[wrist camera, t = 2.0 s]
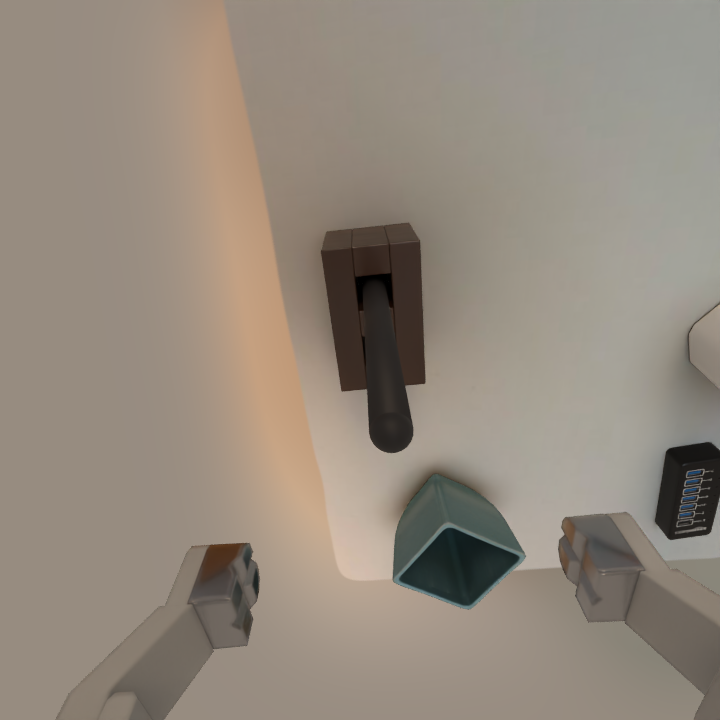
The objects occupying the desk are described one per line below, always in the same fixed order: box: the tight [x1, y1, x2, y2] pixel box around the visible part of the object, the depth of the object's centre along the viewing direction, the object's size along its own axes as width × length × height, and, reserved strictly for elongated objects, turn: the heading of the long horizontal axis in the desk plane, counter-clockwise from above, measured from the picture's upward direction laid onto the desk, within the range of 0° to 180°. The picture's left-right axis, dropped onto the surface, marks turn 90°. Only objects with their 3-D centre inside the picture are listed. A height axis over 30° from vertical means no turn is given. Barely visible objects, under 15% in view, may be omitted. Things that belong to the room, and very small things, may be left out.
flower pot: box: [393, 474, 526, 609], centre depth 42 cm, size 9×9×9 cm
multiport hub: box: [655, 442, 720, 540], centre depth 44 cm, size 4×11×2 cm, turn 12°
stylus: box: [362, 274, 413, 453], centre depth 25 cm, size 2×2×22 cm
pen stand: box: [321, 223, 425, 391], centre depth 33 cm, size 6×11×6 cm, turn 6°
